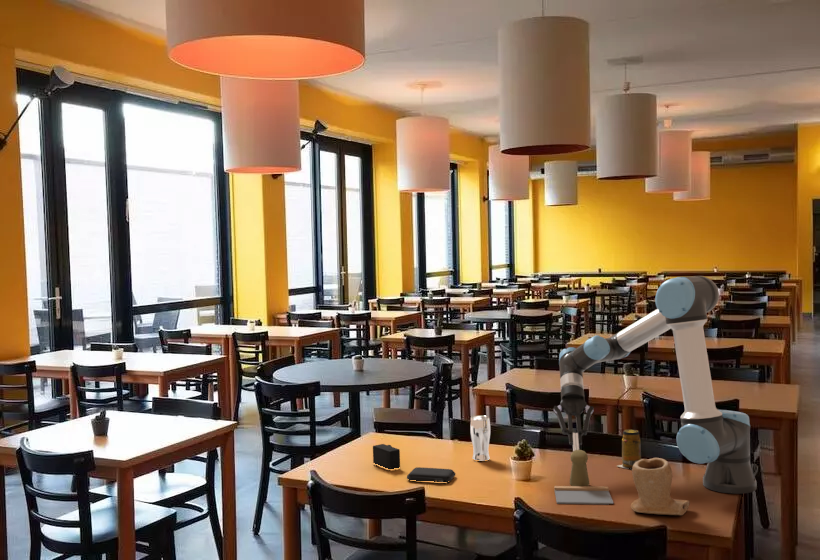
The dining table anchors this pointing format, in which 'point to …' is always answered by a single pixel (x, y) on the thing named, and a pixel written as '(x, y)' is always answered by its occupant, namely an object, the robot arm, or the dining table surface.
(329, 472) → the dining table surface
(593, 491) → the mat
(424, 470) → the carrying case or bag
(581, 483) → the cork
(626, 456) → the condiment
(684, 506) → the stone cup
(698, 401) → the robot arm
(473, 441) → the beer glass
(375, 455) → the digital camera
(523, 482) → the dining table surface
